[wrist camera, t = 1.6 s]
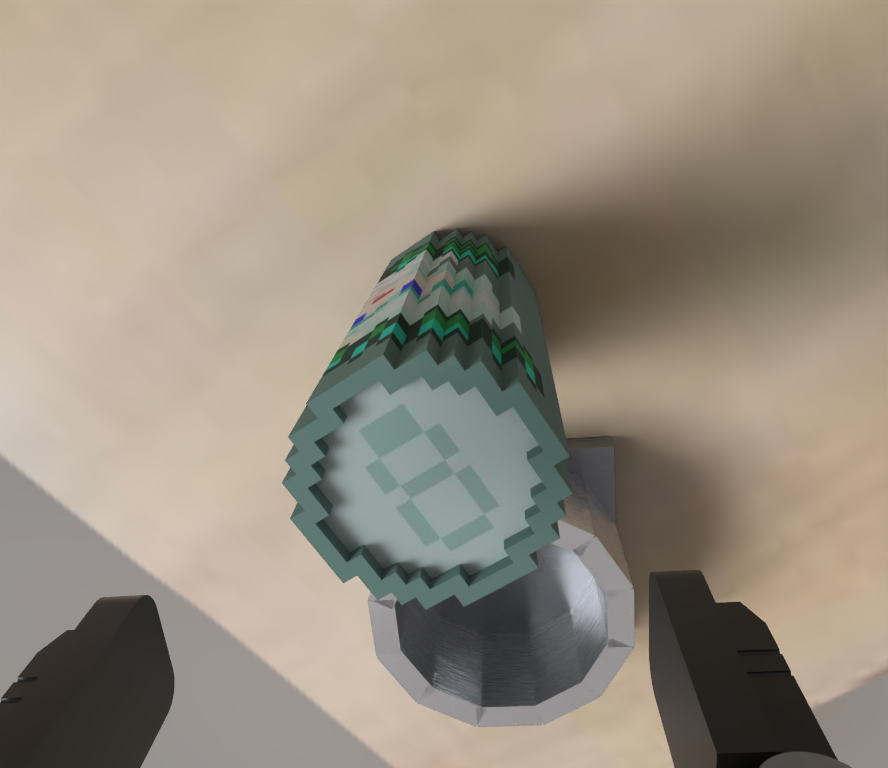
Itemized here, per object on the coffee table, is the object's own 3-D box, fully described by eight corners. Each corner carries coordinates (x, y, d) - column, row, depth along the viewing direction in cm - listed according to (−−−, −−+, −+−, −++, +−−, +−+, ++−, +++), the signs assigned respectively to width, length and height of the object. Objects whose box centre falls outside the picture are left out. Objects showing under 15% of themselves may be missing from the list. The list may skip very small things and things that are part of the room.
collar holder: (610, 436, 33) (633, 501, 28) (615, 632, 36) (635, 722, 31) (375, 450, 34) (354, 515, 28) (401, 640, 37) (387, 729, 32)
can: (477, 201, 30) (464, 302, 16) (561, 330, 31) (617, 526, 17) (350, 287, 31) (233, 449, 17) (435, 406, 33) (393, 643, 19)
